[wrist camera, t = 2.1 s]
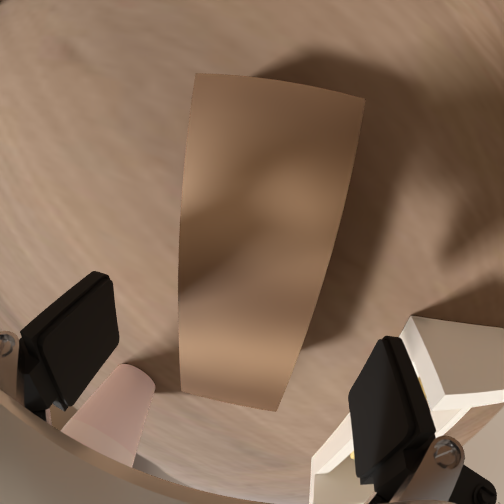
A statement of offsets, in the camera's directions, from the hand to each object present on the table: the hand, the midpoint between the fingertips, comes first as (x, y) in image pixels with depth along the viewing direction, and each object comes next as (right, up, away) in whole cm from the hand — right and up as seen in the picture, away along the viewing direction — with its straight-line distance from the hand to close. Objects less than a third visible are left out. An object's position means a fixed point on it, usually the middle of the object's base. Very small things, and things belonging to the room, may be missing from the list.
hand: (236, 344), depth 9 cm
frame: (+13, -10, +9) cm, 19 cm away
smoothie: (-9, -7, +11) cm, 16 cm away
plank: (+1, +3, +5) cm, 6 cm away
